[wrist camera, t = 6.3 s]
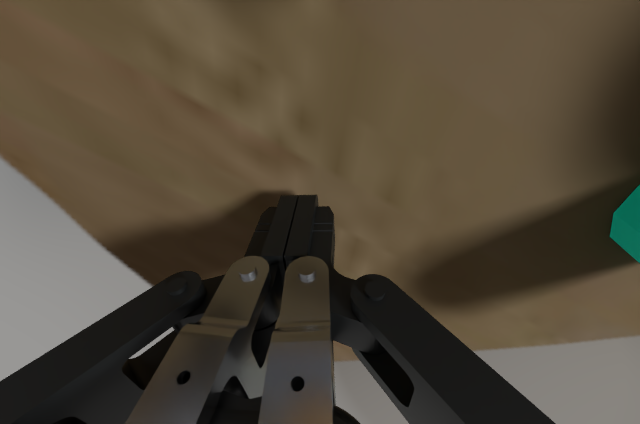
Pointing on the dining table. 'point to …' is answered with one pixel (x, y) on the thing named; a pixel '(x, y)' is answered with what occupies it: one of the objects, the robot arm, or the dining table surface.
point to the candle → (628, 225)
